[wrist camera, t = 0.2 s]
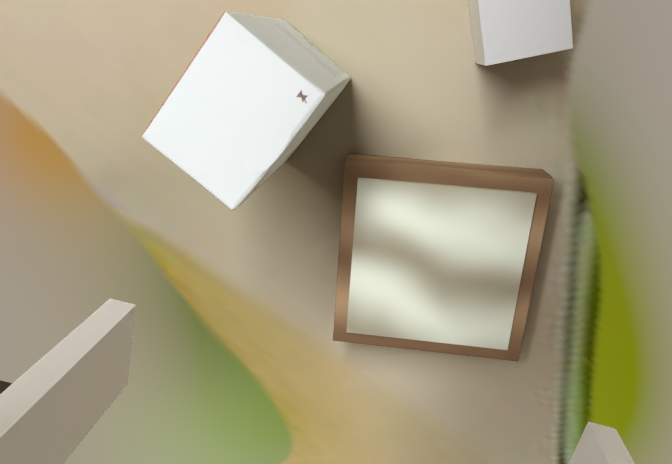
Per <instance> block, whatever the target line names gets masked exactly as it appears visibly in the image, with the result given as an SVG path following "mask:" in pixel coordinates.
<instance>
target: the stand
mask: <svg viewBox="0 0 672 464" xmlns="http://www.w3.org/2000/svg"><path fill="white" fill-rule="evenodd" d="M553 182H554V179H553V178H552V177H551V176H550V175H549V174H547V173H546V172H545V171H544V170H541V169H529V168H517V167H505V166H493V165H480V164H468V163H456V162H444V161H432V160H419V159H407V158H395V157H383V156H371V155H358V154H348V156H347V158H346V161H345V166H344V181H343V196H342V212H341V227H340V242H339V257H338V272H337V287H336V303H335V318H334V333H333V340H334V341H343V342H352V343H361V344H370V345H378V346H387V347H396V348H405V349H414V350H423V351H432V352H441V353H450V354H458V355H467V356H476V357H485V358H494V359H503V360H512V361H518V359H519V354H520V349H521V344H522V339H523V334H524V329H525V324H526V319H527V314H528V309H529V304H530V299H531V294H532V289H533V284H534V278H535V273H536V268H537V263H538V258H539V253H540V248H541V243H542V238H543V233H544V228H545V223H546V218H547V213H548V208H549V203H550V198H551V192H552V187H553Z"/></svg>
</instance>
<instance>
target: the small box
mask: <svg viewBox="0 0 672 464" xmlns="http://www.w3.org/2000/svg"><path fill="white" fill-rule="evenodd" d="M350 79H351V78H350V77H349V76H348V75H347V74H346V73H345V72H343V71H342V70H341V69H340V68H339V67H338V66H337V65H335V64H334V63H333V62H332V61H331V60H330V59H328V58H327V57H326V56H325V55H324V54H323V53H322V52H320V51H319V50H318V49H317V48H316V47H315V46H314V45H312V44H311V43H310V42H309V41H308V40H307V39H305V38H304V37H303V36H302V35H301V34H300V33H299V32H298V31H296V30H295V29H294V28H293V27H292V26H291V25H289V24H288V23H287V22H286V21H285V20H283V19H277V18H271V17H264V16H255V15H249V14H241V13H233V12H224V13H223V14H222V16H221V17H220V19H219V20H218V22H217V23H216V25H215V26H214V28H213V29H212V31H211V32H210V34H209V35H208V37H207V38H206V40H205V41H204V43H203V44H202V46H201V47H200V49H199V50H198V52H197V53H196V55H195V56H194V58H193V59H192V61H191V62H190V64H189V65H188V67H187V68H186V70H185V71H184V73H183V74H182V76H181V77H180V79H179V80H178V82H177V83H176V85H175V86H174V88H173V89H172V91H171V92H170V94H169V95H168V97H167V98H166V100H165V101H164V103H163V104H162V106H161V107H160V109H159V110H158V112H157V113H156V115H155V117H154V118H153V120H152V121H151V123H150V124H149V126H148V127H147V129H146V130H145V132H144V133H143V135H142V137H143V138H144V139H145V140H146V141H147V142H149V143H150V144H151V145H152V146H154V147H155V148H156V149H157V150H159V151H160V152H161V153H162V154H164V155H165V156H166V157H167V158H168V159H170V160H171V161H172V162H173V163H175V164H176V165H177V166H178V167H179V168H181V169H182V170H183V171H184V172H185V173H187V174H188V175H189V176H190V177H192V178H193V179H194V180H195V181H196V182H198V183H199V184H200V185H201V186H202V187H204V188H205V189H206V190H207V191H209V192H210V193H211V194H212V195H213V196H215V197H216V198H217V199H218V200H219V201H221V202H222V203H223V204H224V205H225V206H227V207H228V208H229V209H230V210H235V209H237V208H238V207H239V206H240V205H241V204H242V203H243V202H244V201H245V200H246V199H247V198H248V197H249V196H250V195H251V194H252V193H253V192H254V191H255V190H256V189H257V188H258V187H260V186H261V185H262V184H263V183H264V182H265V181H266V180H267V179H268V178H269V177H270V176H271V175H272V174H273V173H274V172H275V171H276V170H277V169H278V168H279V167H280V166H281V165H282V164H283V163H284V162H285V161H286V160H287V159H288V158H289V157H290V156H291V154H292V153H293V152H294V151H295V149H296V148H297V147H298V146H299V144H300V143H301V142H302V141H303V139H304V138H305V137H306V136H307V135H308V133H309V132H310V131H311V129H312V128H313V127H314V126H315V124H316V123H317V122H318V121H319V119H320V118H321V117H322V116H323V114H324V113H325V112H326V111H327V109H328V108H329V107H330V106H331V104H332V103H333V102H334V100H335V99H336V98H337V97H338V95H339V94H340V93H341V91H342V90H343V89H344V87H345V86H346V85H347V83H348V82H349V81H350Z"/></svg>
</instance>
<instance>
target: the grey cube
mask: <svg viewBox="0 0 672 464" xmlns="http://www.w3.org/2000/svg"><path fill="white" fill-rule="evenodd" d="M468 6H469V14H470V22H471V31H472V39H473V47H474V56H475V63H477V64H481V65H484V66H488V65H493V64H498V63H503V62H508V61H513V60H517V59H522V58H527V57H532V56H537V55H542V54H547V53H552V52H557V51H562V50H567V49H572V48H573V40H572V25H571V11H570V0H468Z"/></svg>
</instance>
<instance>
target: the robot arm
mask: <svg viewBox="0 0 672 464" xmlns="http://www.w3.org/2000/svg"><path fill="white" fill-rule="evenodd" d="M135 307H136V305H134V304H130V303H126V302H122V301H118V300H114V299H109V300H108V301H107V302H106V303H104V304H103V305H102V306H101V307H100V308H99V309H97V310H96V311H95V312H94V313H93V314H92V315H91V316H89V317H88V318H87V319H86V320H85V321H84V322H83V323H81V324H80V325H79V326H78V327H77V328H76V329H75V330H73V331H72V332H71V333H70V334H69V335H68V336H66V337H65V339H63V340H62V341H61V342H60V343H58V344H57V345H56V346H55V347H54V348H53V349H52V350H50V351H49V352H48V353H47V354H46V355H45V356H44V357H42V358H41V359H40V360H39V361H38V362H37V363H36V364H34V365H33V366H32V367H31V368H30V369H29V370H28V371H26V372H25V373H24V374H23V375H22V376H21V377H19V378H18V379H17V380H16V381H15V382H14V383H13V384H12V383H8V382H4V381H0V464H63V463H64V462H65V461H66V459H67V458H68V457H69V456H70V455H71V453H72V452H73V451H74V450H75V448H76V447H77V446H78V445H79V443H80V442H81V441H82V440H83V439H84V437H85V436H86V435H87V434H88V432H89V431H90V430H91V429H92V427H93V426H94V425H95V424H96V422H97V421H98V420H99V419H100V417H101V416H102V415H103V414H104V412H105V411H106V410H107V409H108V408H109V406H110V405H111V404H112V403H113V401H114V400H115V399H116V398H117V396H118V395H119V394H120V393H121V391H122V390H123V389H124V388H125V387H126V385H127V384H128V374H129V365H130V355H131V354H130V353H131V346H132V345H131V344H132V336H133V326H134V317H135ZM569 464H635V463H634V461H633V460H632V457H631V456H630V454H629V452H628V451H627V448H626V447H625V445H624V443H623V442H622V439H621V437H620V436H619V434H618V432H617V430H616V429H615V428H612V427H608V426H604V425H600V424H596V423H592V422H588V423H587V425H586V427H585V430H584V432H583V434H582V436H581V438H580V440H579V442H578V445H577V447H576V449H575V451H574V453H573V455H572V457H571V460H570V462H569Z"/></svg>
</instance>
